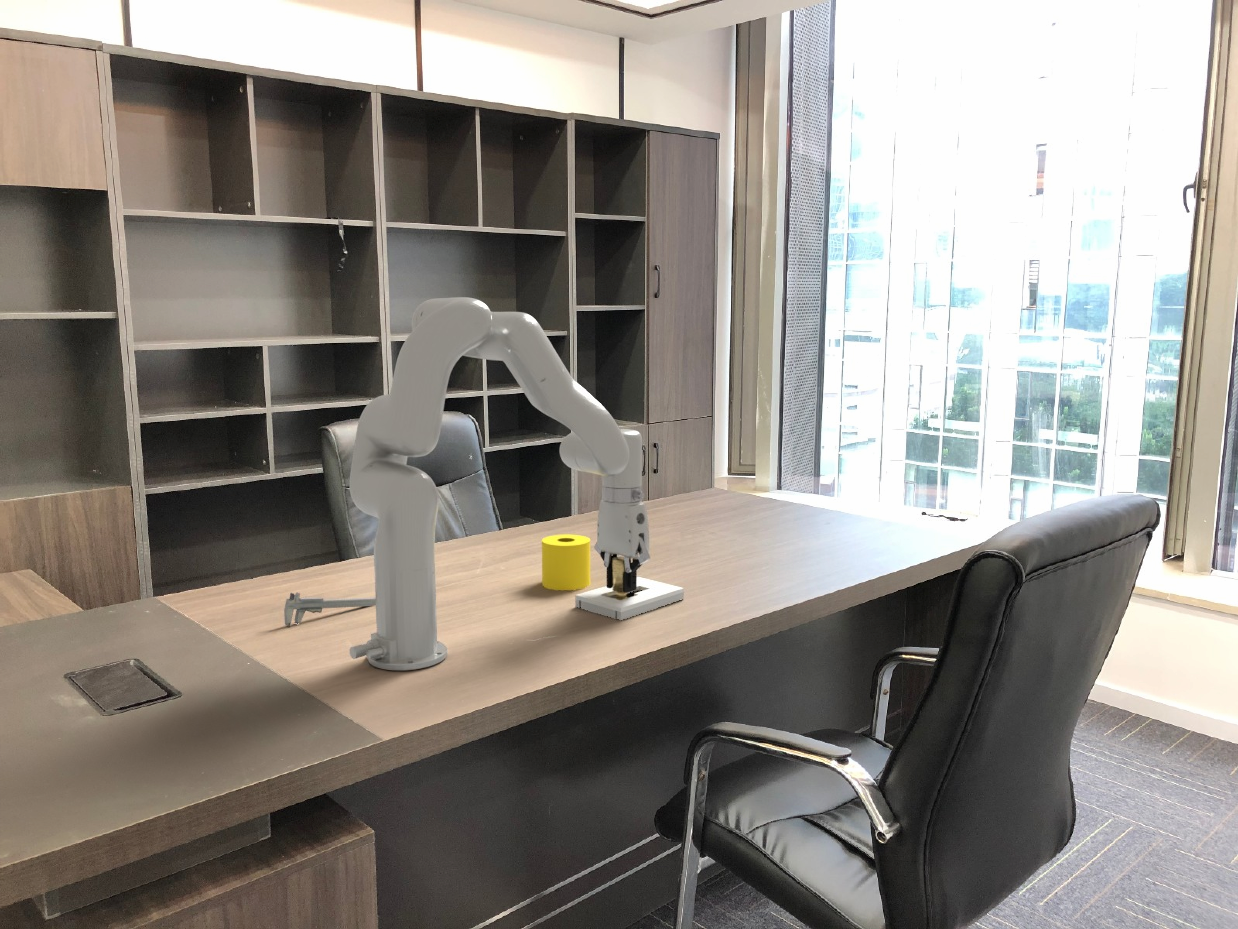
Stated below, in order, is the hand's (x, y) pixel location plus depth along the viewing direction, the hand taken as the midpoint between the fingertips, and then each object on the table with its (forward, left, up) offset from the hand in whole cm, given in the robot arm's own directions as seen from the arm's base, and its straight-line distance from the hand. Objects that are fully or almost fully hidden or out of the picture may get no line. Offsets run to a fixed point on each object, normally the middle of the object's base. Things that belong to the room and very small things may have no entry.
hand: (621, 588), depth 182 cm
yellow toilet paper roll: (+4, +19, -4) cm, 20 cm away
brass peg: (0, 0, -3) cm, 3 cm away
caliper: (-40, +35, -4) cm, 54 cm away
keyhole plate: (+3, 0, -4) cm, 4 cm away
